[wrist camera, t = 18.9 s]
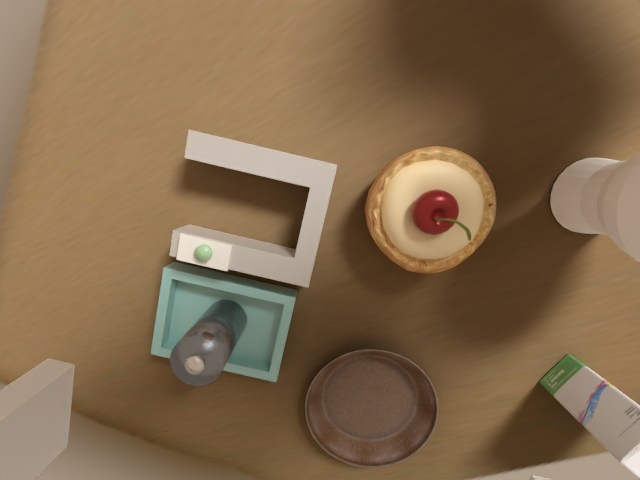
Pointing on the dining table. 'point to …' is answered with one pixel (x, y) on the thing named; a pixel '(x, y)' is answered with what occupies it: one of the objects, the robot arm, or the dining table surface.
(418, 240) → the pastry
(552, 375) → the ink box
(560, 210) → the cup
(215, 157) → the white hook bar
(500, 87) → the dining table surface
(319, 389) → the saucer
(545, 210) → the dining table surface
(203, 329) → the cell
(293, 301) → the trough
